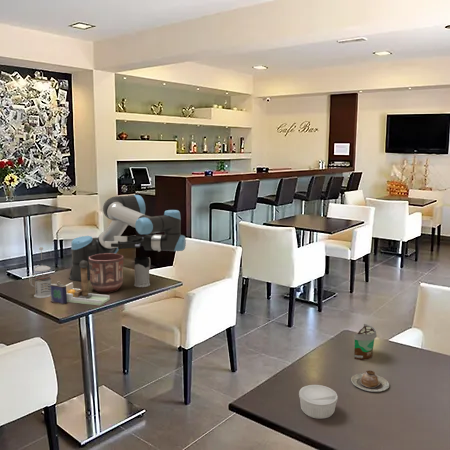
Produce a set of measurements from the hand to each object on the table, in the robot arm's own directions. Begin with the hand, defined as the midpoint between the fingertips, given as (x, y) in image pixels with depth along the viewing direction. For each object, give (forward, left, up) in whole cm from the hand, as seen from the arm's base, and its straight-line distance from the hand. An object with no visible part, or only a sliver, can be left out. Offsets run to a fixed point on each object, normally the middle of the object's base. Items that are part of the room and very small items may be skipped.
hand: (109, 241), depth 233 cm
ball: (+2, -21, -27) cm, 34 cm away
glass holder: (-33, +2, -30) cm, 44 cm away
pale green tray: (+2, -13, -30) cm, 33 cm away
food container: (+29, +120, -30) cm, 127 cm away
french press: (+1, -39, -30) cm, 49 cm away
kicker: (+2, -14, -29) cm, 32 cm away
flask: (+9, -23, -30) cm, 39 cm away
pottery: (-17, -12, -30) cm, 36 cm away
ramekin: (+71, +106, -30) cm, 132 cm away
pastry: (+51, +121, -31) cm, 135 cm away
